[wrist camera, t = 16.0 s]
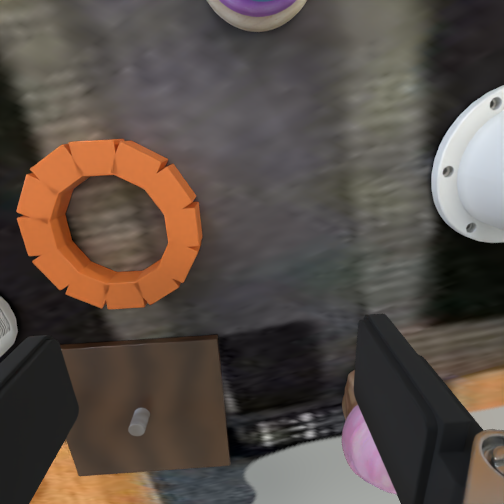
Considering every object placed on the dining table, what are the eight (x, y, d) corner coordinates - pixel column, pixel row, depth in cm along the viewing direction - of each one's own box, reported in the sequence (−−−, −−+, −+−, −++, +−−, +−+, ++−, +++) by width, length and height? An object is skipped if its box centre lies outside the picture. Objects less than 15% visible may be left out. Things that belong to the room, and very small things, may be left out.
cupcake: (329, 350, 32) (367, 439, 23) (414, 350, 33) (484, 437, 23) (320, 417, 36) (349, 519, 26) (397, 416, 36) (453, 517, 27)
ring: (191, 135, 25) (186, 135, 23) (208, 290, 30) (205, 303, 27) (15, 144, 25) (-7, 145, 22) (60, 299, 29) (46, 313, 27)
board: (217, 334, 31) (215, 353, 29) (230, 458, 37) (229, 483, 35) (40, 345, 31) (22, 365, 28) (82, 469, 37) (70, 495, 34)
